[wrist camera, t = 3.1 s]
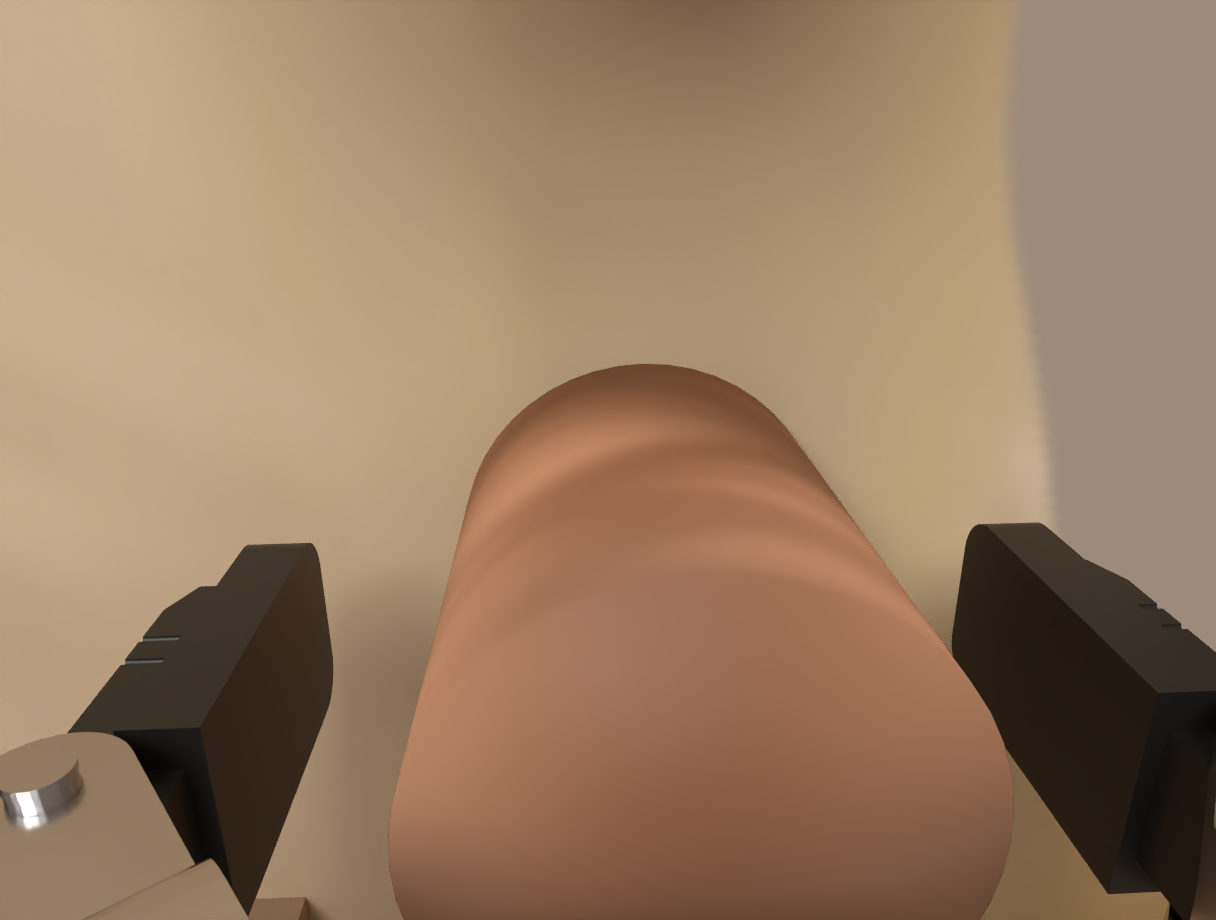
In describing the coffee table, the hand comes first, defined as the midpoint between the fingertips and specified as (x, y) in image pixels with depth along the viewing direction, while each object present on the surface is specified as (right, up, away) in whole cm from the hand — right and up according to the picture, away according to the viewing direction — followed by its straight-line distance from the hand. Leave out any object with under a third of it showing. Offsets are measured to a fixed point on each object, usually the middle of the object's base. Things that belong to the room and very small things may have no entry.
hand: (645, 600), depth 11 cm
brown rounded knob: (0, +1, +2) cm, 2 cm away
